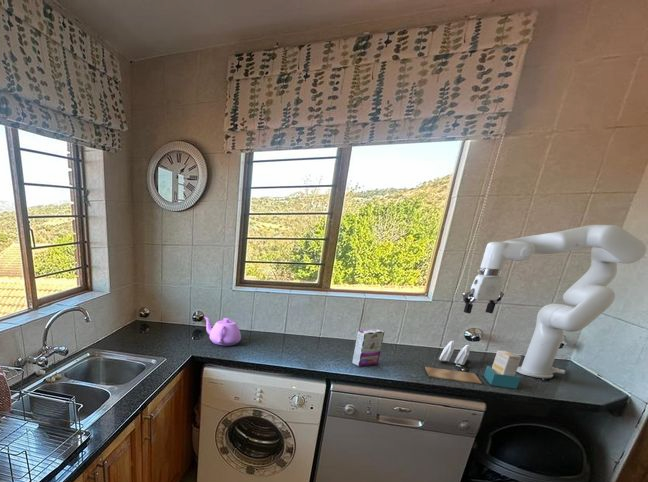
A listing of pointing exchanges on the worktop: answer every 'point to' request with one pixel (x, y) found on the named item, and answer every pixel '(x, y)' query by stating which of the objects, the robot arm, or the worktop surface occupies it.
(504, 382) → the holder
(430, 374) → the cork mat
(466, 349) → the shaker set
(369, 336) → the candy bar box
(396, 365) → the worktop surface
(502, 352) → the supplement box
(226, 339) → the teapot
